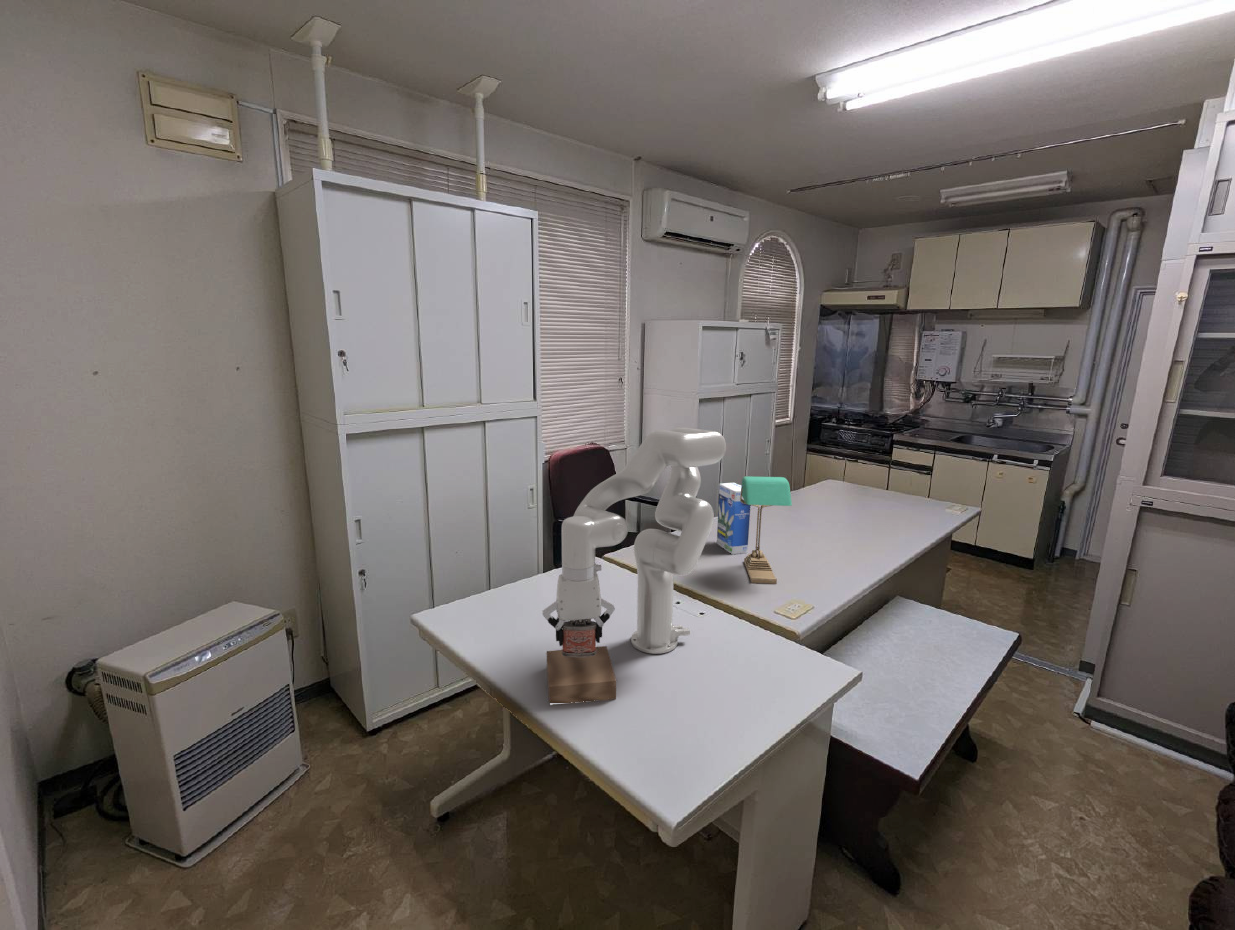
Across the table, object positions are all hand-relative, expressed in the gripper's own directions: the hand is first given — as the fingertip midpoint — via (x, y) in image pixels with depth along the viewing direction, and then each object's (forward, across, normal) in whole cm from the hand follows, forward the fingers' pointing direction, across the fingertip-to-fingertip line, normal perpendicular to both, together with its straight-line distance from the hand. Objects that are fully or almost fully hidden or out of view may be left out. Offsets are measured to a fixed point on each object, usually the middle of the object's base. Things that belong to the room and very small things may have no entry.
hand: (579, 641), depth 127 cm
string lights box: (+10, -71, -81) cm, 108 cm away
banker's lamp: (+10, -71, -55) cm, 91 cm away
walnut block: (+11, 0, 0) cm, 11 cm away
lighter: (+3, 0, 0) cm, 3 cm away
